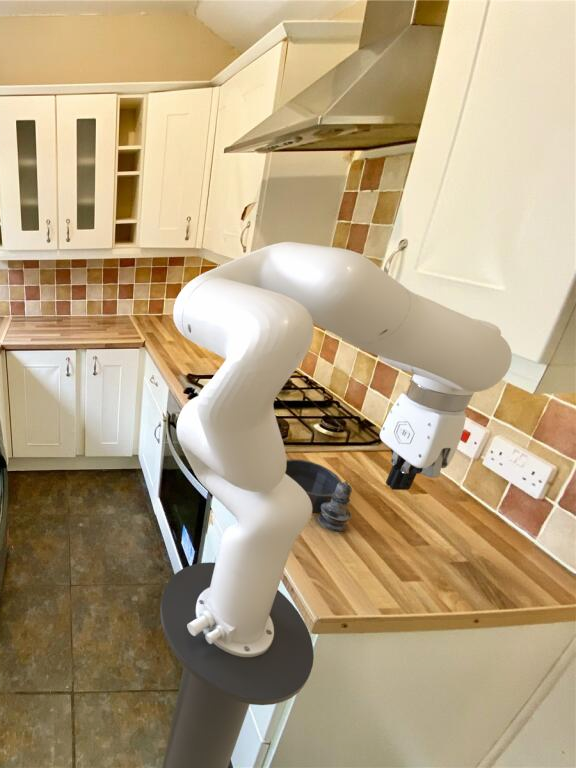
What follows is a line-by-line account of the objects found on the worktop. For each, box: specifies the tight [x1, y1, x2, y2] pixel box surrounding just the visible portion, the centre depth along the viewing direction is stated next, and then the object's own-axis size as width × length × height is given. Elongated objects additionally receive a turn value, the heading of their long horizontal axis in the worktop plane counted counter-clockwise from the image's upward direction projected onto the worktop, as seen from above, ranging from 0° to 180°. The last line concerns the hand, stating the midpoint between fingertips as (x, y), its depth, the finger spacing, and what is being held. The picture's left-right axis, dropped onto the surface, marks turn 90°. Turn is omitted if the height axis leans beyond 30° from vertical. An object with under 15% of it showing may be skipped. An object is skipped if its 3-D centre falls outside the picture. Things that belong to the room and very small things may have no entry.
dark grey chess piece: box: [317, 480, 353, 533], centre depth 92 cm, size 6×6×12 cm
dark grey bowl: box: [285, 458, 343, 514], centre depth 103 cm, size 14×14×5 cm
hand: (397, 486), depth 74 cm, fingers closed
